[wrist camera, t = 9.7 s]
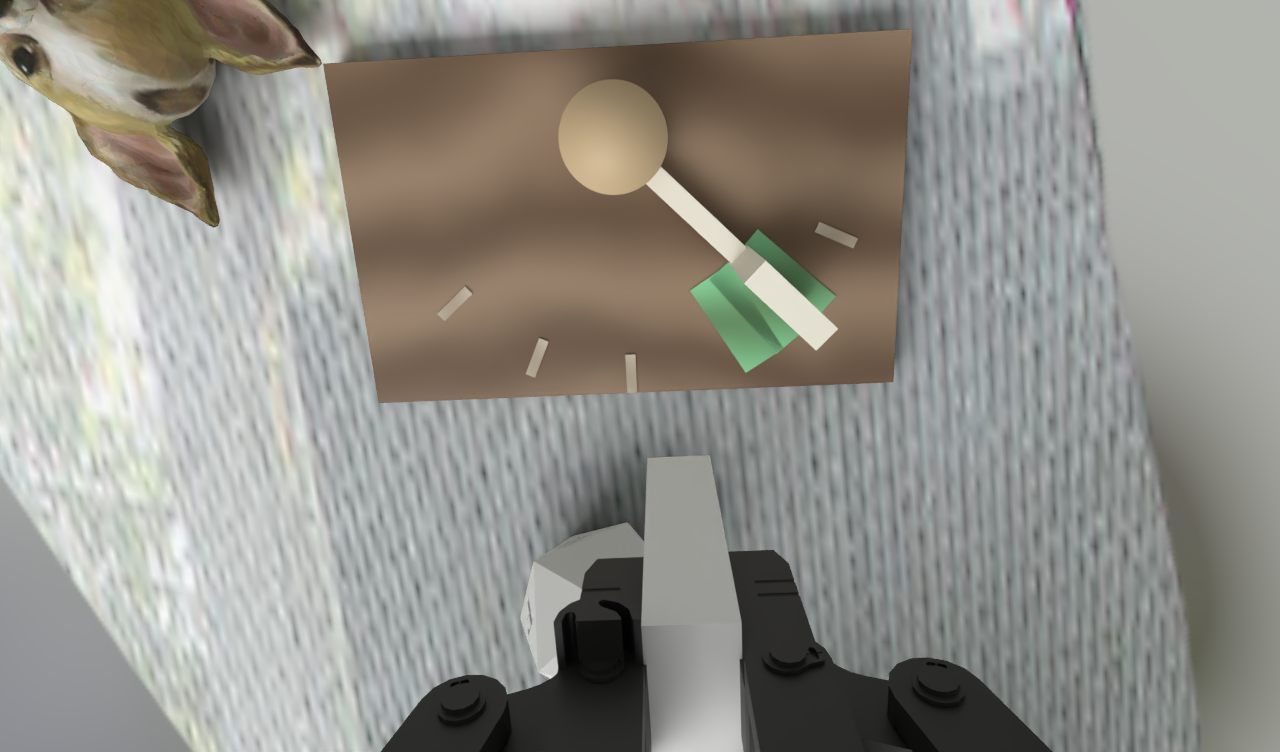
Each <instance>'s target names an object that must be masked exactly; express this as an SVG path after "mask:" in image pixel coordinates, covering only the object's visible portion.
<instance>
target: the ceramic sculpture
mask: <svg viewBox="0 0 1280 752" xmlns="http://www.w3.org/2000/svg"><path fill="white" fill-rule="evenodd" d="M0 59H1V61H2V62H3V63H4V64H5V65H6V67H7V68H8V69H9V70H10V71H11V72H12V73H13V74H14V75H15V76H16V77H17V78H18V79H19V80H21V81H23V82H24V83H26V84H28V85H29V86H31V87H32V88H34V89H35V90H37V91H38V92H40V93H41V94H42V95H44V96H45V97H47V98H48V99H50V100H51V101H52V102H54V103H56V104H58V105H60V106H61V107H63V108H64V109H65V110H66V111H68V112H69V113H70V115H71V116H72V119H73V122H74V124H75V126H76V129H77V132H78V135H79V136H80V138H81V139H82V141H83V142H84V144H85V145H86V147H87V149H88V150H89V152H90V153H91V155H93V156H94V157H96V158H97V159H99V160H100V161H102V162H104V163H105V164H107V165H108V166H109V167H110V168H111V169H112V170H113V172H114V173H115V174H116V175H117V176H118V177H119V178H121V179H122V180H124V181H126V182H128V183H130V184H132V185H134V186H135V187H137V188H141V189H145V190H148V191H149V192H150V194H152V195H155V196H157V197H159V198H161V199H163V200H165V201H167V202H169V203H172V204H175V205H177V206H179V207H181V208H183V209H185V210H187V211H190V212H192V213H193V214H194V215H195V216H196V217H198V218H199V219H200V220H202V221H203V222H205V223H206V224H208V225H209V226H212V227H216V226H218V224H219V221H220V219H219V214H218V209H217V205H216V201H215V197H214V187H213V182H212V177H211V173H210V168H209V163H208V158H207V156H206V155H205V153H204V151H203V150H202V148H201V147H200V146H199V145H198V144H196V143H195V142H194V141H193V140H192V139H190V138H188V137H187V136H185V135H184V134H182V133H180V132H178V131H176V130H174V129H173V128H171V127H170V124H171V123H172V122H173V121H174V120H176V119H179V118H182V117H185V116H188V115H190V114H191V113H193V112H194V111H195V110H196V109H197V108H198V107H199V106H200V105H201V104H202V103H203V102H204V101H205V100H206V99H207V98H208V96H209V94H210V91H211V88H212V85H213V82H214V79H215V74H216V62H215V59H217V60H218V61H220V62H221V63H223V64H226V65H229V66H232V67H235V68H237V69H239V70H242V71H244V72H247V73H252V74H257V75H263V74H268V73H273V72H278V71H283V70H287V69H292V68H297V67H306V68H314V67H319V66H320V65H321V64H322V63H321V60H320V58H319V57H318V56H317V55H316V54H315V52H314V51H313V50H312V49H311V48H310V46H309V45H308V44H307V43H306V42H305V40H304V39H303V37H302V36H301V34H300V32H299V31H298V29H296V28H295V27H294V26H293V25H292V24H291V23H290V22H289V20H288V19H287V18H286V17H285V16H283V15H282V14H281V13H280V12H279V11H278V10H277V9H276V8H275V7H274V6H273V5H271V4H270V3H269V2H268V1H267V0H0Z"/></svg>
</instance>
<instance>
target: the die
mask: <svg viewBox="0 0 1280 752" xmlns="http://www.w3.org/2000/svg"><path fill="white" fill-rule="evenodd" d="M629 557H644V541H643V540H642V538H641V537H640V536H639V535H638V534H637V533H636V531H635V530H634V529H633V528H632V527H631V526H630V524H629V523H628V522H626V523H622V524H618V525H614V526H610V527H606V528H602V529H598V530H595V531H591V532H587V533H583V534H579V535H575V536H571V537H570V538H568V539H567V540H565V541H564V542H562V543H561V544H559V545H558V546H556V547H554V548H553V549H551V550H550V551H548V552H547V553H545V554H544V555H542V556H541V557H539V558H538V559H536V560H535V561H534V562H533V566H532V570H531V574H530V579H529V583H528V587H527V592H526V596H525V600H524V605H523V609H522V613H521V617H520V618H521V621H522V625H523V628H524V631H525V634H526V637H527V640H528V643H529V646H530V649H531V652H532V655H533V658H534V661H535V664H536V668H537V671H538V672H539V673H541V674H543V675H545V676H546V677H548V678H550V679H551V678H552V677H554V676H555V675H556V674H557V672H558V662H557V652H556V643H555V633H554V624H553V622H554V620H555V618H556V616H557V614H558V613H559V611H561V610H562V609H563V608H565V607H566V606H567V605H568V604H570V603H572V602H575V601H577V600H580V596H581V592H582V585H583V580H584V574H585V572H586V571H587V570H588V569H589V568H590V567H591V565H592V564H593V563H594V562H595V561H596V560H597V559H603V558H629Z"/></svg>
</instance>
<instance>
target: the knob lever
mask: <svg viewBox="0 0 1280 752" xmlns="http://www.w3.org/2000/svg"><path fill="white" fill-rule="evenodd" d="M558 139H559V148H560V152H561V156H562V158H563V161H564V163H565V165H566V167H567V169H568V170H569V172H570V173H571V174H572V176H573V177H574V178H575V179H576V180H577V181H578V182H580V183H581V184H582V185H584V186H585V187H587V188H588V189H590V190H593V191H595V192H598V193H601V194H607V195H620V194H626V193H630V192H632V191H635V190H637V189H639V188H640V187H642V186H644V185H645V184H647V185H648V186H649V187H650V188H651V189H652V190H653V191H654V192H655V193H656V194H657V195H658V196H659V197H660V198H662V199H663V200H664V201H665V202H666V203H667V204H668V205H669V206H670V207H671V208H672V209H673V210H674V211H675V212H677V213H678V214H679V215H680V216H681V217H682V218H683V219H684V220H685V221H686V222H687V223H688V224H689V225H691V226H692V227H693V228H694V229H695V230H696V231H697V232H698V233H699V234H700V235H701V236H702V237H703V238H704V239H706V240H707V241H708V242H709V243H710V244H711V245H712V246H713V247H714V248H715V249H716V250H717V251H718V252H719V253H721V254H722V255H723V256H724V257H725V258H726V259H727V260H728V261H729V262H730V263H729V265H730V266H731V267H732V269H733V270H734V271H735V272H736V274H737V275H738V276H739V278H740V279H741V280H742V282H743V283H744V284H745V285H746V286H747V287H748V288H749V289H750V290H751V291H753V292H754V293H755V294H756V295H757V296H758V297H759V298H760V299H761V300H762V301H763V302H764V303H765V304H767V305H768V306H769V307H770V308H771V309H772V310H773V311H774V312H775V313H776V314H777V315H778V316H779V317H781V318H782V319H783V320H784V321H785V322H786V323H787V324H788V325H789V326H790V327H791V328H792V329H793V330H794V331H796V332H797V333H798V334H799V335H800V336H801V337H802V338H803V339H804V340H805V341H806V342H807V343H808V344H810V345H811V346H812V347H813V348H814V349H815V350H817V349H818V348H819V347H820V346H821V345H823V344H824V343H825V342H826V341H827V340H828V339H829V338H830V337H831V336H832V335H833V334H834V333H835V332H836V331H837V330H838V328H837V327H836V326H835V325H834V324H833V323H832V322H830V321H829V320H828V319H827V318H826V317H825V316H824V315H823V314H822V313H821V312H820V311H819V310H818V309H817V308H816V307H815V306H814V305H812V304H811V303H810V302H809V301H808V300H807V299H806V298H805V297H804V296H803V295H802V294H801V293H800V292H799V291H798V290H797V289H796V288H794V287H793V286H792V285H791V284H790V283H789V282H788V281H787V280H786V279H785V278H784V277H783V276H782V275H781V274H780V273H779V272H778V271H776V270H775V269H774V268H773V267H772V266H771V265H770V264H769V263H768V262H767V261H766V260H765V259H763V258H762V257H761V256H760V255H759V254H757V253H756V252H755V251H754V250H753V249H751V248H750V247H749V246H748V245H746V246H745V245H744V244H742V243H741V242H740V241H739V240H738V239H737V238H736V237H735V236H734V235H733V234H732V233H731V232H730V231H729V230H728V229H727V228H726V227H724V226H723V225H722V224H721V223H720V222H719V221H718V220H717V219H716V218H715V217H714V216H713V215H712V214H711V213H710V212H709V211H707V210H706V209H705V208H704V207H703V206H702V205H701V204H700V203H699V202H698V201H697V200H696V199H695V198H694V197H693V196H692V195H690V194H689V193H688V192H687V191H686V190H685V189H684V188H683V187H682V186H681V185H680V184H679V183H678V182H677V181H676V180H675V179H674V178H672V177H671V176H670V175H669V174H668V173H667V172H666V171H665V170H664V169H663V168H662V167H661V165H662V163H663V160H664V158H665V154H666V151H667V144H668V132H667V125H666V121H665V118H664V115H663V113H662V111H661V109H660V107H659V105H658V104H657V102H656V101H655V100H654V99H653V97H652V96H651V95H650V94H649V93H647V92H646V91H645V90H644V89H642V88H641V87H639V86H637V85H635V84H633V83H631V82H627V81H624V80H617V79H608V80H601V81H598V82H595V83H592V84H590V85H588V86H586V87H585V88H583V89H582V90H580V91H579V92H578V93H577V94H576V95H575V96H574V97H573V98H572V99H571V100H570V102H569V103H568V105H567V106H566V108H565V110H564V112H563V115H562V118H561V121H560V125H559V133H558Z"/></svg>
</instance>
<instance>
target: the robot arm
mask: <svg viewBox="0 0 1280 752" xmlns="http://www.w3.org/2000/svg"><path fill="white" fill-rule="evenodd" d="M553 624H554V633H555V643H556V652H557V662H558V672H557V674H556V675H555V676H554V677H552V678H551V679H549V680H547V681H546V682H544V683H542V684H540V685H537V686H535V687H532V688H529V689H526V690H522V691H519V692H515V693H511V694H508V695H507V693H506V689H505V687H504V686H503V685H502V684H501V683H500V682H499V681H498V680H497V679H494V678H491V677H487V676H484V675H465V676H461V677H458V678H454V679H450V680H448V681H446V682H444V683H442V684H440V685H438V686H437V687H435V688H433V689H432V690H431V691H430V692H429V693H428V694H427V695H426V696H425V697H424V698H423V699H421V701H420V702H419V703H418V705H417V706H416V707H415V708H414V710H413V711H412V712H411V714H410V715H409V716H408V717H407V719H406V720H405V721H404V723H403V724H402V725H401V726H400V728H399V729H398V730H397V732H396V733H395V734H394V735H393V737H392V738H391V739H390V741H389V742H388V743H387V744H386V746H385V747H384V748H383V750H382V751H381V752H1052V751H1051V750H1050V749H1049V748H1048V747H1047V746H1046V745H1045V744H1044V743H1043V742H1042V741H1041V740H1040V739H1039V738H1038V737H1037V736H1036V735H1035V734H1034V733H1033V732H1032V731H1031V730H1030V729H1029V728H1028V727H1027V726H1026V725H1025V724H1024V723H1023V722H1022V721H1021V720H1020V719H1019V718H1018V717H1017V716H1016V715H1015V714H1014V713H1013V712H1012V711H1011V710H1010V709H1009V708H1008V707H1007V706H1006V705H1005V704H1004V703H1003V702H1002V701H1001V700H1000V699H999V698H998V697H997V696H996V695H995V694H994V693H993V692H992V691H991V690H990V689H989V688H988V687H986V686H985V685H984V684H983V683H982V682H981V681H980V680H979V679H978V678H977V677H975V676H974V675H973V674H971V673H970V672H969V671H967V670H966V669H965V668H962V667H960V666H957V665H955V664H953V663H950V662H948V661H944V660H939V659H933V658H912V659H908V660H906V661H903V662H901V663H898V664H897V665H896V666H895V667H894V668H893V669H892V671H891V672H890V673H889V681H888V680H883V679H878V678H873V677H867V676H863V675H859V674H856V673H852V672H849V671H847V670H845V669H843V668H840V667H838V666H837V665H835V664H834V663H833V661H832V658H831V657H830V655H829V654H828V652H827V651H826V649H825V648H824V647H822V646H821V645H819V644H818V643H816V642H815V639H814V637H813V634H812V631H811V628H810V625H809V622H808V619H807V616H806V613H805V610H804V607H803V604H802V601H801V599H800V596H799V594H798V590H797V587H796V584H795V582H794V578H793V575H792V572H791V569H790V566H789V563H787V562H786V561H785V560H784V559H783V558H782V557H781V556H780V555H778V554H777V553H776V552H775V551H774V550H761V551H735V552H728V548H727V543H726V538H725V533H724V527H723V522H722V517H721V512H720V506H719V501H718V496H717V491H716V485H715V480H714V475H713V470H712V464H711V459H710V455H700V456H678V457H655V458H647V478H646V506H645V534H644V557H629V558H603V559H597V560H596V561H595V562H594V563H593V564H592V565H591V567H590V568H589V569H588V570H587V571H586V572H585V574H584V580H583V585H582V592H581V596H580V600H577V601H575V602H572V603H570V604H568V605H567V606H566V607H565V608H563V609H562V610H561V611H559V613H558V614H557V616H556V618H555V620H554V622H553Z"/></svg>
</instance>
